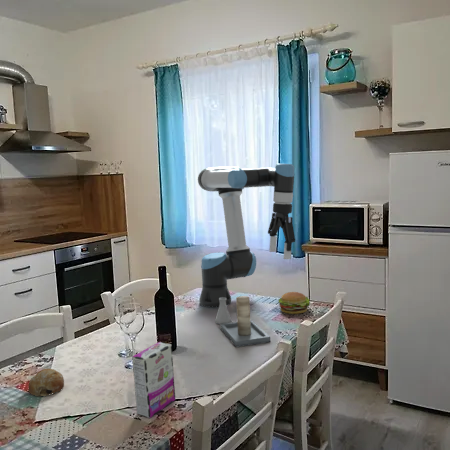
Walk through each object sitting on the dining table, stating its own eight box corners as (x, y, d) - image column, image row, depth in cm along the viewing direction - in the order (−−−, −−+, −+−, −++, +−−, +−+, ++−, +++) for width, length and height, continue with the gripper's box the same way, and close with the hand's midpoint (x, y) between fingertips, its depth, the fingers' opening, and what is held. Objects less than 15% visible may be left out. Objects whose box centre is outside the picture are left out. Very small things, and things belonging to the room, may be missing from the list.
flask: (230, 325, 191) (229, 301, 190) (213, 324, 192) (212, 300, 191) (233, 319, 198) (232, 296, 197) (217, 318, 199) (216, 295, 198)
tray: (220, 328, 187) (220, 324, 186) (251, 324, 190) (251, 319, 190) (236, 347, 168) (236, 341, 167) (270, 341, 171) (270, 336, 171)
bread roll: (31, 409, 136) (30, 391, 132) (26, 383, 144) (25, 364, 140) (66, 400, 141) (66, 382, 137) (60, 375, 148) (60, 357, 144)
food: (277, 315, 201) (277, 297, 200) (278, 305, 214) (278, 288, 213) (310, 316, 198) (310, 297, 197) (309, 306, 212) (309, 288, 211)
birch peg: (236, 332, 181) (234, 297, 179) (248, 330, 182) (246, 295, 180) (240, 336, 176) (238, 300, 174) (252, 334, 177) (251, 298, 175)
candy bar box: (162, 396, 134) (158, 341, 132) (176, 400, 131) (173, 344, 129) (135, 414, 124) (131, 355, 122) (149, 419, 122) (145, 359, 120)
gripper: (306, 206, 175) (302, 261, 179) (278, 199, 199) (275, 248, 202) (288, 206, 173) (284, 262, 176) (261, 199, 196) (259, 249, 199)
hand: (279, 255), depth 189 cm, fingers open, 13 cm apart
